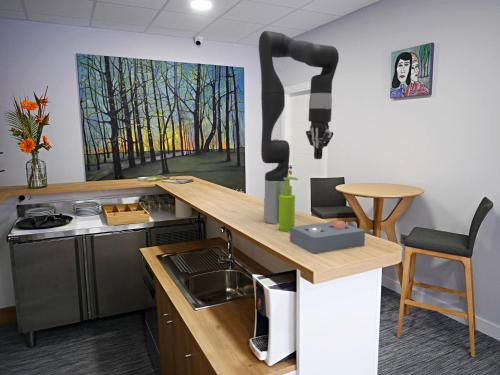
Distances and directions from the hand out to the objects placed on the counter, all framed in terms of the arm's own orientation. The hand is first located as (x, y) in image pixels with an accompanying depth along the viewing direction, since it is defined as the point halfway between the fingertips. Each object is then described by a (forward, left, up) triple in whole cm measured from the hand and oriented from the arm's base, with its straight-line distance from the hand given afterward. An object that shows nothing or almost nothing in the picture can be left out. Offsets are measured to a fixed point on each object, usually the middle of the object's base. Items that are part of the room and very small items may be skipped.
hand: (317, 158), depth 128 cm
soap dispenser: (-12, -4, -28) cm, 30 cm away
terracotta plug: (+8, +4, -26) cm, 27 cm away
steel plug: (+8, -6, -27) cm, 29 cm away
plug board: (+8, -1, -28) cm, 29 cm away
